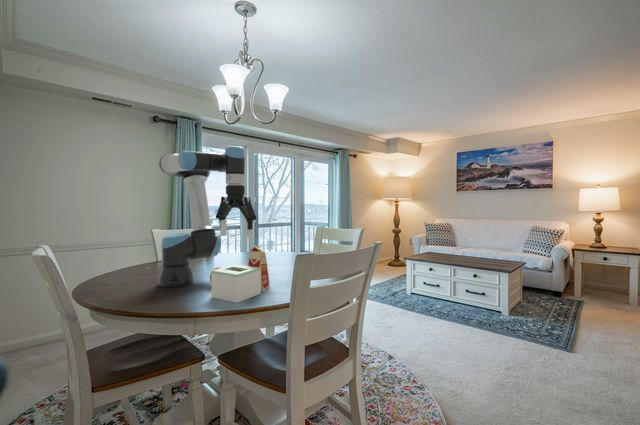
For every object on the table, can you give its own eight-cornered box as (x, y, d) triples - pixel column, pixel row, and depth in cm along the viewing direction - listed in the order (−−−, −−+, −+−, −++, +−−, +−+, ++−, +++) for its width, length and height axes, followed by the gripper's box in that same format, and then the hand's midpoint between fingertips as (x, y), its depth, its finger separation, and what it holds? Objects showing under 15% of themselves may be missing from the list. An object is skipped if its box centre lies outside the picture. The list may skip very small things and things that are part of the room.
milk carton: (263, 291, 144) (262, 245, 143) (243, 290, 146) (242, 244, 145) (270, 285, 153) (270, 242, 152) (251, 284, 155) (251, 242, 154)
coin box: (211, 297, 136) (211, 270, 135) (236, 288, 148) (235, 264, 147) (237, 302, 129) (237, 274, 128) (260, 293, 141) (260, 267, 140)
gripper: (206, 185, 139) (207, 235, 140) (252, 184, 127) (253, 239, 128) (220, 185, 145) (220, 233, 147) (265, 184, 133) (265, 237, 134)
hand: (235, 236), depth 137 cm, fingers open, 13 cm apart
